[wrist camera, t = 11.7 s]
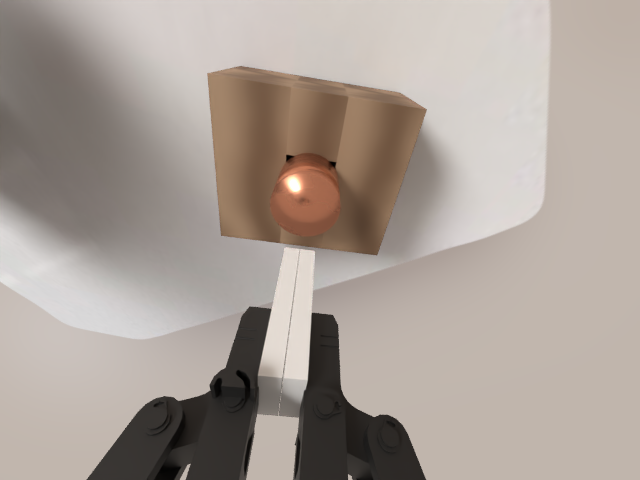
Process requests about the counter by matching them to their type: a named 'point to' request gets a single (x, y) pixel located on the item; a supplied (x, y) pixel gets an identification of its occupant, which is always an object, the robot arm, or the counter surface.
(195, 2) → the counter surface
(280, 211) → the copper cylinder with shaft
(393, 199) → the hitch block
